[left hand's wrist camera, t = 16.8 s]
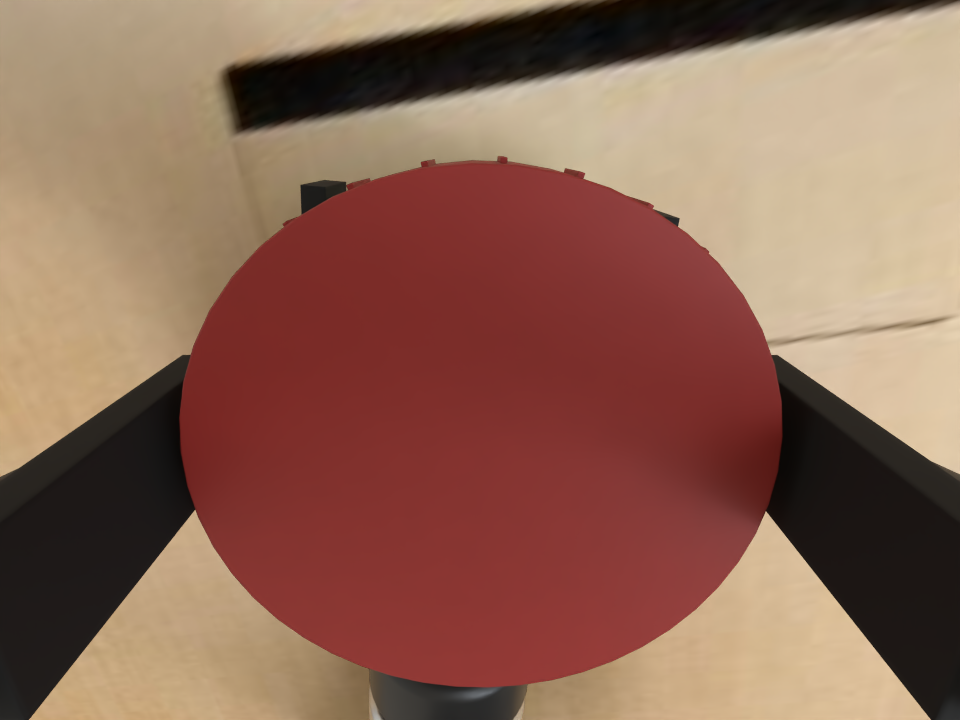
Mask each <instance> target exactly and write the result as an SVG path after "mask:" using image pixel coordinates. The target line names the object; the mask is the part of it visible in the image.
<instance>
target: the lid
mask: <svg viewBox="0 0 960 720" xmlns="http://www.w3.org/2000/svg"><path fill="white" fill-rule="evenodd" d="M421 166H422V167H420V168H416V169H412V170H408V171H404V172H400V173H396V174H392V175H389V176H385V177H382V178H378V179H375V180H373V181H371V180H370V178H369V179H365V180H361V181H357V182H353V183H350V184H348V185H346V186H347V188H348V191H345V192H343V193H340V194H338V195H335V196H333V197H331V198H329V199H328V200H326V201H324V202H323V203H321V204H319V205H317V206H316V207H314V208H312V209H311V210H309V211H307V212H305V213H304V214H302V215H300V216H299V217H296V218H293V219H291V220H288V221H286V222H285V223H284V224H283V226H284V228H282V229H281V230H280V231H279V232H277V233H276V234H275V235H274V236H272V237H271V238H270V239H269V240H267V241H266V242H265V243H264V244H262V245H261V246H260V247H259V248H258V249H257V250H256V251H255V252H254V254H253V255H252V256H251V257H250V258H249V259H248V260H247V261H246V262H245V263H244V264H243V266H242V267H241V268H240V269H239V270H238V271H237V272H236V273H235V274H234V275H233V276H232V278H231V279H230V281H229V282H228V284H227V285H226V287H225V288H224V290H223V291H222V293H221V294H220V296H219V297H218V299H217V300H216V302H215V303H214V305H213V306H212V308H211V309H210V311H209V313H208V315H207V317H206V319H205V321H204V324H203V326H202V328H201V330H200V332H199V335H198V337H197V339H196V341H195V343H194V345H193V349H192V353H191V356H190V360H189V363H188V367H187V371H186V374H185V378H184V381H183V390H182V399H181V407H180V416H179V422H180V447H181V456H182V461H183V467H184V472H185V477H186V482H187V487H188V489H189V492H190V495H191V498H192V501H193V504H194V507H195V509H196V512H197V515H198V518H199V520H200V522H201V524H202V526H203V528H204V530H205V531H206V533H207V535H208V537H209V539H210V541H211V543H212V545H213V547H214V548H215V550H216V551H217V553H218V554H219V556H220V557H221V559H222V560H223V561H224V563H225V564H226V566H227V567H228V569H229V570H230V572H231V573H232V574H233V575H234V576H235V578H236V579H237V580H238V581H239V582H240V583H241V584H242V585H243V587H244V588H245V589H246V590H247V591H248V592H249V593H250V594H251V596H252V597H253V598H254V599H255V600H257V601H258V602H259V603H260V604H261V605H262V606H263V607H264V608H266V609H267V610H268V611H269V612H270V613H271V614H272V615H273V616H275V617H276V618H277V619H278V620H280V621H281V622H282V623H284V624H285V625H287V626H288V627H289V628H291V629H292V630H294V631H295V632H297V633H298V634H299V635H301V636H302V637H304V638H305V639H307V640H309V641H311V642H312V643H314V644H316V645H318V646H320V647H321V648H323V649H325V650H327V651H329V652H330V653H332V654H335V655H337V656H339V657H342V658H344V659H346V660H349V661H351V662H353V663H355V664H358V665H360V666H363V667H366V668H369V669H372V670H375V671H378V672H382V673H385V674H388V675H391V676H395V677H400V678H404V679H409V680H413V681H418V682H423V683H430V684H439V685H447V686H456V687H501V686H516V685H524V684H531V683H537V682H543V681H549V680H554V679H558V678H562V677H566V676H569V675H573V674H577V673H581V672H584V671H587V670H590V669H592V668H595V667H598V666H601V665H603V664H606V663H609V662H612V661H614V660H616V659H618V658H620V657H622V656H624V655H626V654H628V653H631V652H633V651H635V650H637V649H639V648H641V647H643V646H644V645H646V644H648V643H649V642H651V641H652V640H654V639H656V638H657V637H659V636H661V635H662V634H664V633H665V632H667V631H669V630H670V629H671V628H673V627H674V626H675V625H677V624H678V623H679V622H680V621H682V620H683V619H684V618H685V617H687V616H688V615H689V614H691V613H692V612H693V611H694V610H696V609H697V608H698V607H699V606H700V605H701V604H702V603H703V602H704V601H705V600H706V599H707V598H708V597H709V596H710V595H711V594H712V593H713V592H714V591H715V590H716V589H717V588H718V587H719V586H720V584H721V583H722V582H723V581H724V579H725V578H726V577H727V576H728V574H729V573H730V572H731V571H732V569H733V568H734V567H735V566H736V564H737V563H738V562H739V560H740V559H741V557H742V555H743V554H744V552H745V551H746V549H747V547H748V546H749V544H750V542H751V541H752V539H753V537H754V536H755V534H756V532H757V530H758V528H759V525H760V523H761V521H762V518H763V516H764V514H765V512H766V509H767V507H768V505H769V502H770V498H771V495H772V491H773V488H774V484H775V481H776V477H777V473H778V469H779V461H780V453H781V445H782V437H783V436H782V401H781V396H780V391H779V385H778V380H777V374H776V369H775V364H774V361H773V359H772V356H771V353H770V350H769V347H768V345H767V342H766V339H765V336H764V333H763V330H762V328H761V327H760V325H759V323H758V321H757V319H756V317H755V316H754V314H753V312H752V310H751V308H750V306H749V305H748V303H747V301H746V299H745V297H744V295H743V294H742V293H741V292H740V290H739V289H738V288H737V286H736V285H735V284H734V282H733V281H732V280H731V279H730V277H729V276H728V275H727V273H726V272H725V271H724V269H723V268H722V267H721V266H720V264H719V263H718V262H717V261H716V260H715V259H714V258H713V257H712V256H711V255H710V254H709V251H708V250H707V249H706V248H704V247H702V246H700V245H699V244H698V243H697V242H696V241H695V240H694V239H693V238H692V237H691V236H690V235H689V234H687V233H686V232H685V231H683V230H682V229H680V228H679V227H677V226H676V225H674V224H673V223H672V222H670V221H669V220H667V219H666V218H664V217H663V216H662V215H660V214H659V213H657V212H656V211H654V210H653V207H654V206H653V205H652V204H650V203H648V202H645V201H641V200H638V199H635V198H632V197H629V196H626V195H624V194H622V193H620V192H618V191H616V190H614V189H612V188H609V187H606V186H603V185H600V184H597V183H594V182H591V181H588V180H585V179H583V178H584V175H585V173H583V172H580V171H575V170H571V169H566V168H565V171H564V173H563V172H560V171H556V170H553V169H548V168H543V167H537V166H532V165H526V164H521V163H515V162H507V157H504V156H498V160H497V161H476V160H471V161H461V162H451V163H441V164H436V163H435V159H434V160H428V161H423V162H421Z"/></svg>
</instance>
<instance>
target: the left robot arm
mask: <svg viewBox="0 0 960 720" xmlns="http://www.w3.org/2000/svg"><path fill="white" fill-rule="evenodd" d="M190 356H191V355H182V356H181V357H179V358H178V359H176V360H175V361H173V362H172V363H170V364H169V365H168V366H166V367H165V368H163V369H162V370H160V371H159V372H157V373H156V374H155V375H153V376H152V377H150V378H149V379H147V380H146V381H144V382H143V383H142V384H140V385H139V386H137V387H136V388H134V389H133V390H131V391H130V392H129V393H127V394H126V395H124V396H123V397H121V398H120V399H118V400H117V401H116V402H114V403H113V404H111V405H110V406H108V407H107V408H105V409H104V410H103V411H101V412H100V413H98V414H97V415H95V416H94V417H92V418H91V419H90V420H88V421H87V422H85V423H84V424H82V425H81V426H79V427H78V428H77V429H75V430H74V431H72V432H71V433H69V434H68V435H66V436H65V437H64V438H62V439H61V440H59V441H58V442H56V443H55V444H53V445H52V446H51V447H49V448H48V449H46V450H45V451H43V452H42V453H40V454H39V455H38V456H36V457H35V458H33V459H32V460H30V461H29V462H27V463H26V464H24V465H23V466H22V467H20V468H19V469H16V470H14V471H12V472H10V473H8V474H6V475H3V476H1V477H0V720H29V719H30V718H31V716H32V715H33V714H34V713H35V711H36V710H37V709H38V708H39V706H40V705H41V704H42V703H43V701H44V700H45V699H46V697H47V696H48V695H49V694H50V692H51V691H52V690H53V689H54V687H55V686H56V685H57V684H58V682H59V681H60V680H61V679H62V677H63V676H64V675H65V673H66V672H67V671H68V670H69V668H70V667H71V666H72V665H73V663H74V662H75V661H76V660H77V658H78V657H79V656H80V654H81V653H82V652H83V651H84V649H85V648H86V647H87V646H88V644H89V643H90V642H91V641H92V639H93V638H94V637H95V636H96V634H97V633H98V632H99V630H100V629H101V628H102V627H103V625H104V624H105V623H106V622H107V620H108V619H109V618H110V617H111V615H112V614H113V613H114V611H115V610H116V609H117V608H118V606H119V605H120V604H121V603H122V601H123V600H124V599H125V598H126V596H127V595H128V594H129V593H130V591H131V590H132V589H133V587H134V586H135V585H136V584H137V582H138V581H139V580H140V579H141V577H142V576H143V575H144V574H145V572H146V571H147V570H148V568H149V567H150V566H151V565H152V563H153V562H154V561H155V560H156V558H157V557H158V556H159V555H160V553H161V552H162V551H163V550H164V548H165V547H166V546H167V544H168V543H169V542H170V541H171V539H172V538H173V537H174V536H175V534H176V533H177V532H178V531H179V529H180V528H181V527H182V525H183V524H184V523H185V522H186V520H187V519H188V518H189V517H190V515H191V514H192V513H193V512H194V510H195V507H194V504H193V501H192V498H191V495H190V492H189V489H188V487H187V482H186V477H185V472H184V467H183V461H182V456H181V447H180V422H179V416H180V407H181V399H182V390H183V381H184V378H185V374H186V371H187V367H188V363H189V360H190ZM771 356H772V359H773V361H774V364H775V369H776V374H777V380H778V385H779V391H780V396H781V401H782V436H783V437H782V445H781V453H780V461H779V469H778V473H777V477H776V481H775V484H774V488H773V491H772V495H771V498H770V502H769V505H768V507H767V509H766V512H767V513H768V514H769V515H770V517H771V518H772V519H773V520H774V522H775V523H776V524H777V525H778V527H779V528H780V529H781V531H782V532H783V533H784V534H785V536H786V537H787V538H788V539H789V541H790V542H791V543H792V544H793V546H794V547H795V548H796V550H797V551H798V552H799V553H800V555H801V556H802V557H803V558H804V560H805V561H806V562H807V563H808V565H809V566H810V567H811V568H812V570H813V571H814V572H815V574H816V575H817V576H818V577H819V579H820V580H821V581H822V582H823V584H824V585H825V586H826V587H827V589H828V590H829V591H830V593H831V594H832V595H833V596H834V598H835V599H836V600H837V601H838V603H839V604H840V605H841V606H842V608H843V609H844V610H845V611H846V613H847V614H848V615H849V617H850V618H851V619H852V620H853V622H854V623H855V624H856V625H857V627H858V628H859V629H860V630H861V632H862V633H863V634H864V636H865V637H866V638H867V639H868V641H869V642H870V643H871V644H872V646H873V647H874V648H875V649H876V651H877V652H878V653H879V654H880V656H881V657H882V658H883V660H884V661H885V662H886V663H887V665H888V666H889V667H890V668H891V670H892V671H893V672H894V673H895V675H896V676H897V677H898V679H899V680H900V681H901V682H902V684H903V685H904V686H905V687H906V689H907V690H908V691H909V692H910V694H911V695H912V696H913V697H914V699H915V700H916V701H917V703H918V704H919V705H920V706H921V708H922V709H923V710H924V711H925V713H926V714H927V715H928V716H929V718H930V719H931V720H960V474H958V473H955V472H953V471H951V470H949V469H947V468H944V467H942V466H940V465H938V464H936V463H934V462H931V461H930V460H928V459H927V458H925V457H924V456H922V455H921V454H920V453H918V452H917V451H915V450H914V449H912V448H911V447H909V446H908V445H907V444H905V443H904V442H902V441H901V440H899V439H898V438H896V437H895V436H894V435H892V434H891V433H889V432H888V431H886V430H885V429H883V428H882V427H881V426H879V425H878V424H876V423H875V422H873V421H872V420H870V419H869V418H868V417H866V416H865V415H863V414H862V413H860V412H859V411H857V410H856V409H855V408H853V407H852V406H850V405H849V404H847V403H846V402H844V401H843V400H842V399H840V398H839V397H837V396H836V395H834V394H833V393H831V392H830V391H829V390H827V389H826V388H824V387H823V386H821V385H820V384H818V383H817V382H816V381H814V380H813V379H811V378H810V377H808V376H807V375H805V374H804V373H803V372H801V371H800V370H798V369H797V368H795V367H794V366H792V365H791V364H790V363H788V362H787V361H785V360H784V359H782V358H781V357H779V356H778V355H771Z"/></svg>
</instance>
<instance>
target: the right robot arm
mask: <svg viewBox="0 0 960 720" xmlns="http://www.w3.org/2000/svg"><path fill="white" fill-rule="evenodd" d="M345 191H346V182H340V181H328V180H323V181H318V182H313V183H308V184H303V185H301V210H302V214H304V213H305V212H307V211H309V210H311V209H312V208H314V207H316V206H317V205H319V204H321V203H323V202H324V201H326V200H328V199H329V198H331V197H333V196H335V195H338V194H340V193H343V192H345ZM653 210H654V209H653ZM654 211H656V212H657V213H659V214H660V215H662V216H663V217H664V218H666V219H667V220H669V221H670V222H672V223H673V224H674V225H676V226H677V227H678V224H679V219H680V218H677V217H674V216H671V215H668V214H665V213H663V212H660V211H657V210H654ZM369 681H370V687H369V720H522V717H523V711H524V702H525V695H526V691H527V685H528V684H524V685H516V686H501V687H456V686H447V685H439V684H430V683H423V682H418V681H413V680H409V679H404V678H400V677H395V676H391V675H388V674H385V673H382V672H378V671H375V670H372V669H370V671H369Z"/></svg>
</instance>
